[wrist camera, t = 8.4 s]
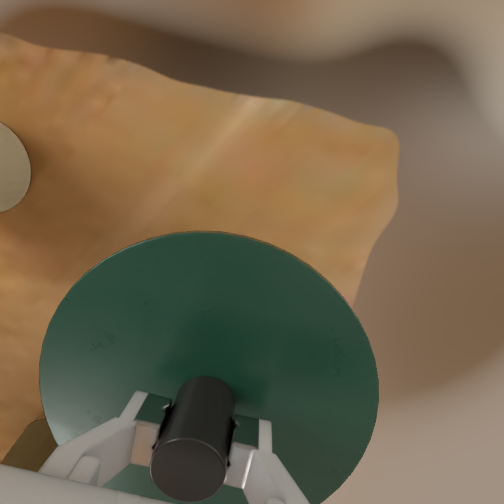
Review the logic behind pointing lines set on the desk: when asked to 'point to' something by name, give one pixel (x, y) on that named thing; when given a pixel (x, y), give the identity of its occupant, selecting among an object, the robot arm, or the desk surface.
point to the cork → (32, 447)
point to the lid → (213, 362)
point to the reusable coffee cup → (12, 169)
